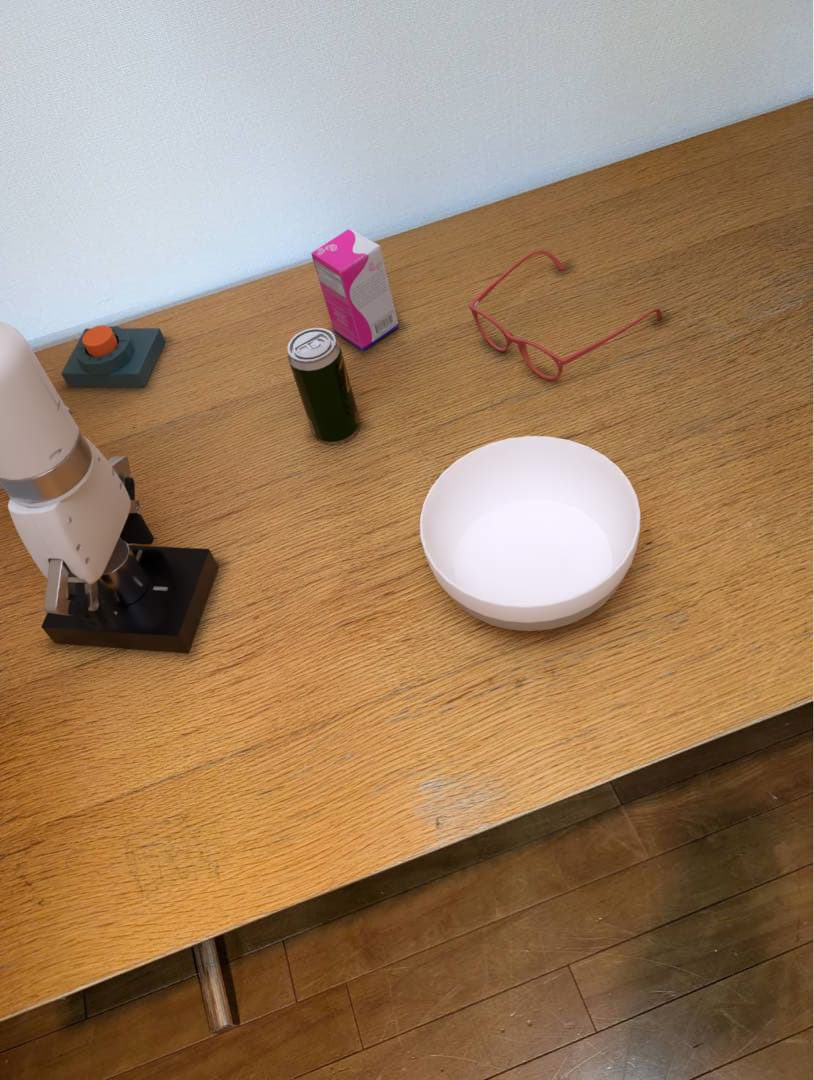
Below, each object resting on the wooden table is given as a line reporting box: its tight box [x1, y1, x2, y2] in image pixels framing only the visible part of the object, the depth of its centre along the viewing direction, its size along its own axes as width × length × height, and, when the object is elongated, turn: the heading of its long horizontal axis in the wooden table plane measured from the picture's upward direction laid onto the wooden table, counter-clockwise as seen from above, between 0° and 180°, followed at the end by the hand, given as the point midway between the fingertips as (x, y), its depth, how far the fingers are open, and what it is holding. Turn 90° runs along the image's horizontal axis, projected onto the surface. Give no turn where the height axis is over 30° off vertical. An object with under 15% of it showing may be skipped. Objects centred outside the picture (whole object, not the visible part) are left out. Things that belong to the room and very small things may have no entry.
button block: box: [60, 325, 167, 388], centre depth 118 cm, size 10×8×4 cm
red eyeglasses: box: [468, 249, 663, 381], centre depth 109 cm, size 17×16×5 cm
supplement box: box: [310, 228, 400, 353], centre depth 112 cm, size 6×6×12 cm
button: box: [82, 324, 118, 357], centre depth 116 cm, size 4×4×2 cm
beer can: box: [286, 327, 361, 446], centre depth 103 cm, size 5×5×12 cm
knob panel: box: [40, 544, 219, 654], centre depth 95 cm, size 14×10×3 cm
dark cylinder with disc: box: [97, 537, 148, 606], centre depth 92 cm, size 4×4×5 cm
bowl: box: [419, 435, 642, 632], centre depth 88 cm, size 19×19×9 cm
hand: (122, 581), depth 94 cm, fingers open, 9 cm apart
